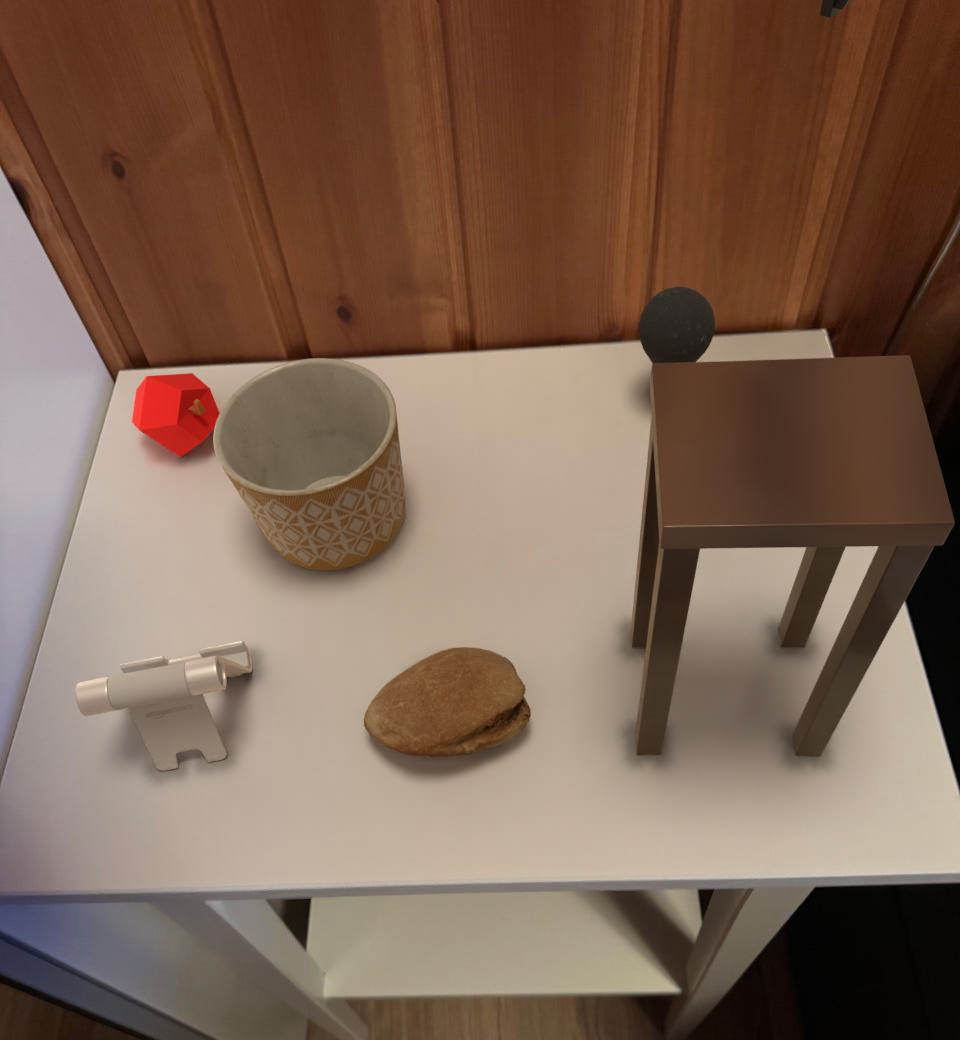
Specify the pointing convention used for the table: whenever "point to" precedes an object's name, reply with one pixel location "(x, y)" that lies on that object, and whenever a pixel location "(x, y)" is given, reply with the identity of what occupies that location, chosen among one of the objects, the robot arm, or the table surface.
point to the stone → (450, 705)
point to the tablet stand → (169, 699)
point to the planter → (316, 460)
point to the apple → (175, 411)
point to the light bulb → (676, 326)
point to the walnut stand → (785, 507)
